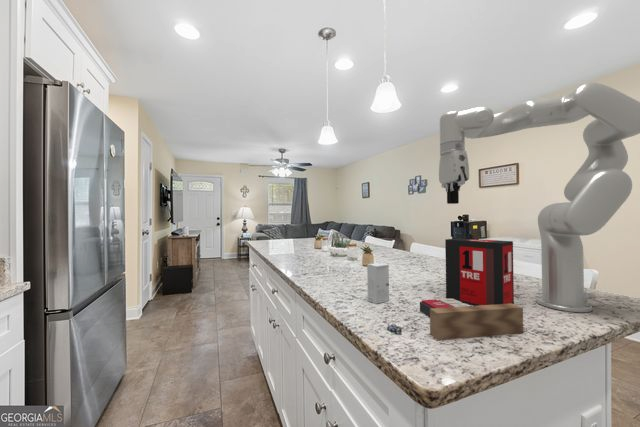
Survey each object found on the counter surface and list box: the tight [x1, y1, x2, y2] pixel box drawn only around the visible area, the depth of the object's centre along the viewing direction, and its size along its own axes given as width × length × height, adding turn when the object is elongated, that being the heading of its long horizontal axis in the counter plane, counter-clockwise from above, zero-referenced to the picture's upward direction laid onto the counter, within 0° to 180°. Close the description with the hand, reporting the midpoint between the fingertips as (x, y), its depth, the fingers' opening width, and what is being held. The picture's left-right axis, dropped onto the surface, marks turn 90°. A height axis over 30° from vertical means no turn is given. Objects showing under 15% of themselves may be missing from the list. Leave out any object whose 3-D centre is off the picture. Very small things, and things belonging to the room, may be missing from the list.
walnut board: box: [429, 303, 524, 341], centre depth 62 cm, size 22×3×6 cm, turn 98°
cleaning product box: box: [445, 237, 515, 306], centre depth 84 cm, size 16×9×20 cm, turn 37°
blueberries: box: [386, 323, 409, 336], centre depth 64 cm, size 7×8×2 cm
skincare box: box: [366, 262, 390, 305], centre depth 87 cm, size 6×4×12 cm
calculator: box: [419, 298, 471, 318], centre depth 71 cm, size 11×4×15 cm
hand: (452, 203), depth 89 cm, fingers closed
